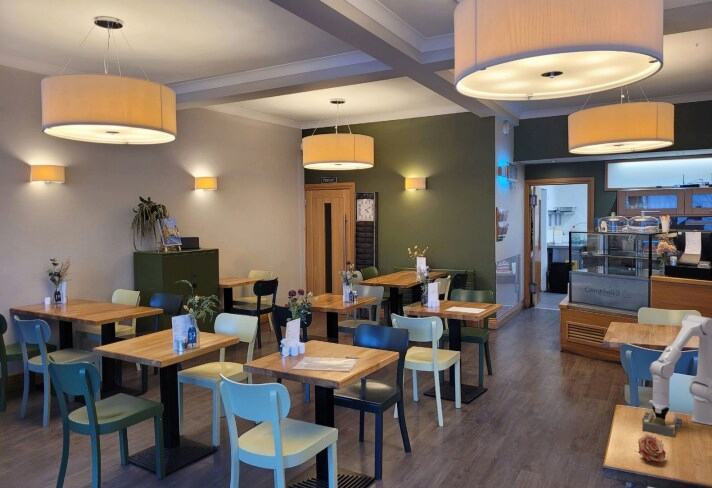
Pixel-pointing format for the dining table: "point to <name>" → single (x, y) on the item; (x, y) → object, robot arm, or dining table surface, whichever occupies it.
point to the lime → (659, 421)
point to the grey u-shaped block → (660, 425)
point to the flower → (651, 448)
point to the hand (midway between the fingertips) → (660, 425)
